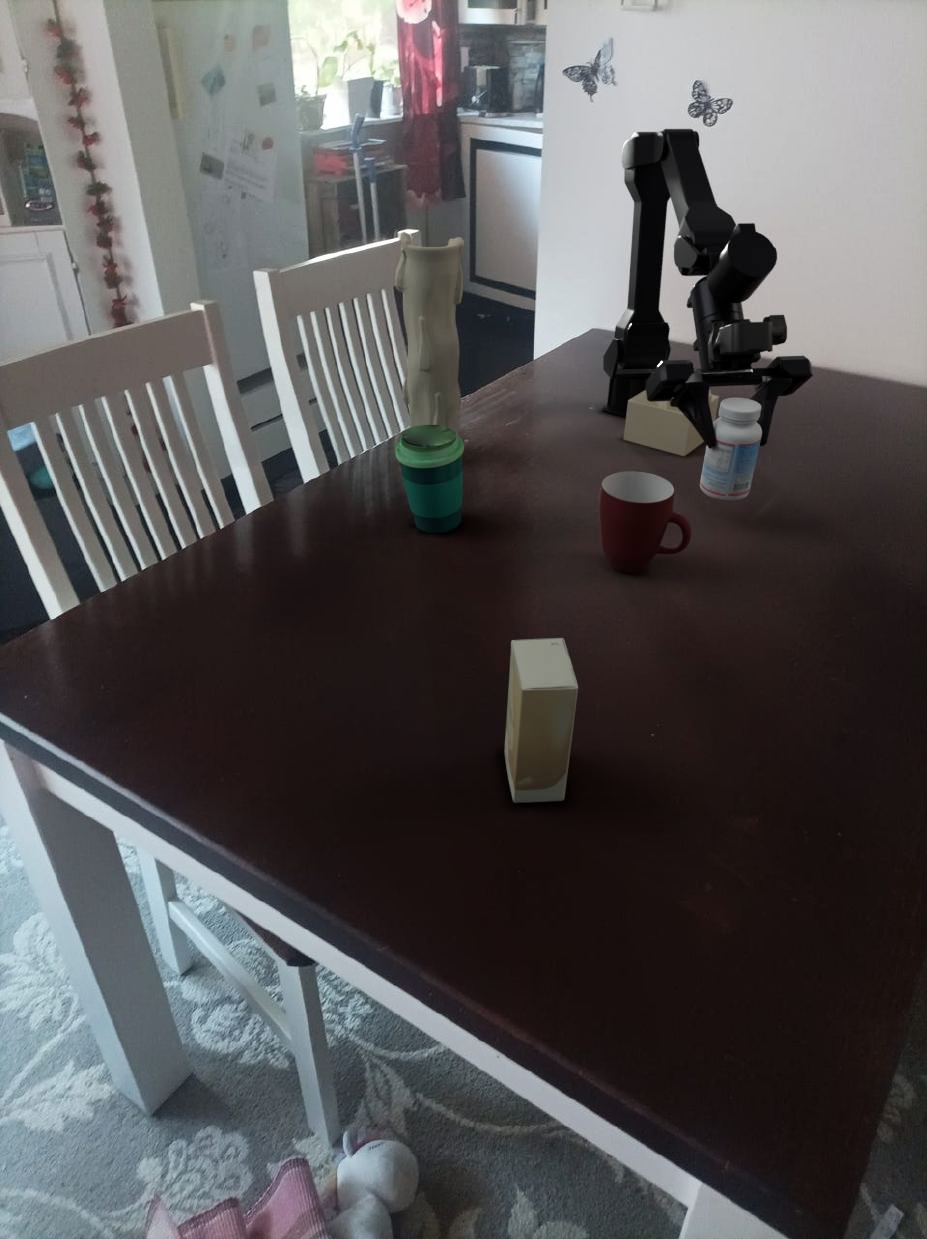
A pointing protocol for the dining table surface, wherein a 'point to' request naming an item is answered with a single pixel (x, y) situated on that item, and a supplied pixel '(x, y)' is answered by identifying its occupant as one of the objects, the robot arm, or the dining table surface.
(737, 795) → the dining table surface
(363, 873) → the dining table surface
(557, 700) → the cosmetic box
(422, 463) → the cup
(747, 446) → the pill bottle
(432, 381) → the vase
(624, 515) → the mug
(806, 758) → the dining table surface
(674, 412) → the block
